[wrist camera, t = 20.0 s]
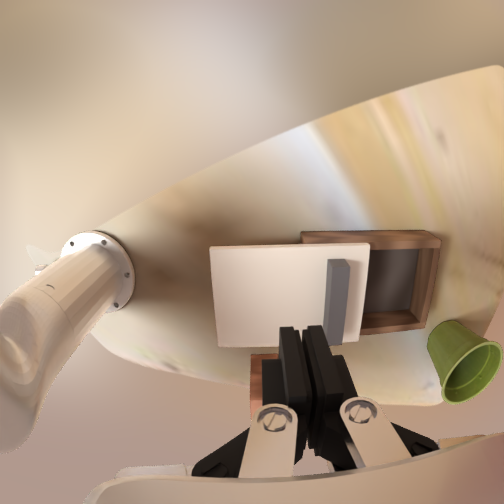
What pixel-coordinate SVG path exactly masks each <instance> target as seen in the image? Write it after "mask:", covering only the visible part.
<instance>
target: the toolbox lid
mask: <svg viewBox="0 0 504 504" xmlns="http://www.w3.org/2000/svg"><path fill="white" fill-rule="evenodd" d="M209 252H210V264H211V276H212V288H213V299H214V309H215V320H216V330H217V339H218V347H276V346H279V328H280V327H289V326H293V327H294V330H299V333H300V337H301V342H302V330H303V329H307V326H311V325H322V328H323V330H324V333H325V336H326V339H327V342H328V345H329V346H332V345H342V343H344V342H356V341H358V340H359V334H360V328H361V321H362V314H363V307H364V299H365V291H366V283H367V274H368V264H369V253H370V245H369V244H368V243H329V244H288V245H250V246H214V247H210V249H209Z"/></svg>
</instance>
